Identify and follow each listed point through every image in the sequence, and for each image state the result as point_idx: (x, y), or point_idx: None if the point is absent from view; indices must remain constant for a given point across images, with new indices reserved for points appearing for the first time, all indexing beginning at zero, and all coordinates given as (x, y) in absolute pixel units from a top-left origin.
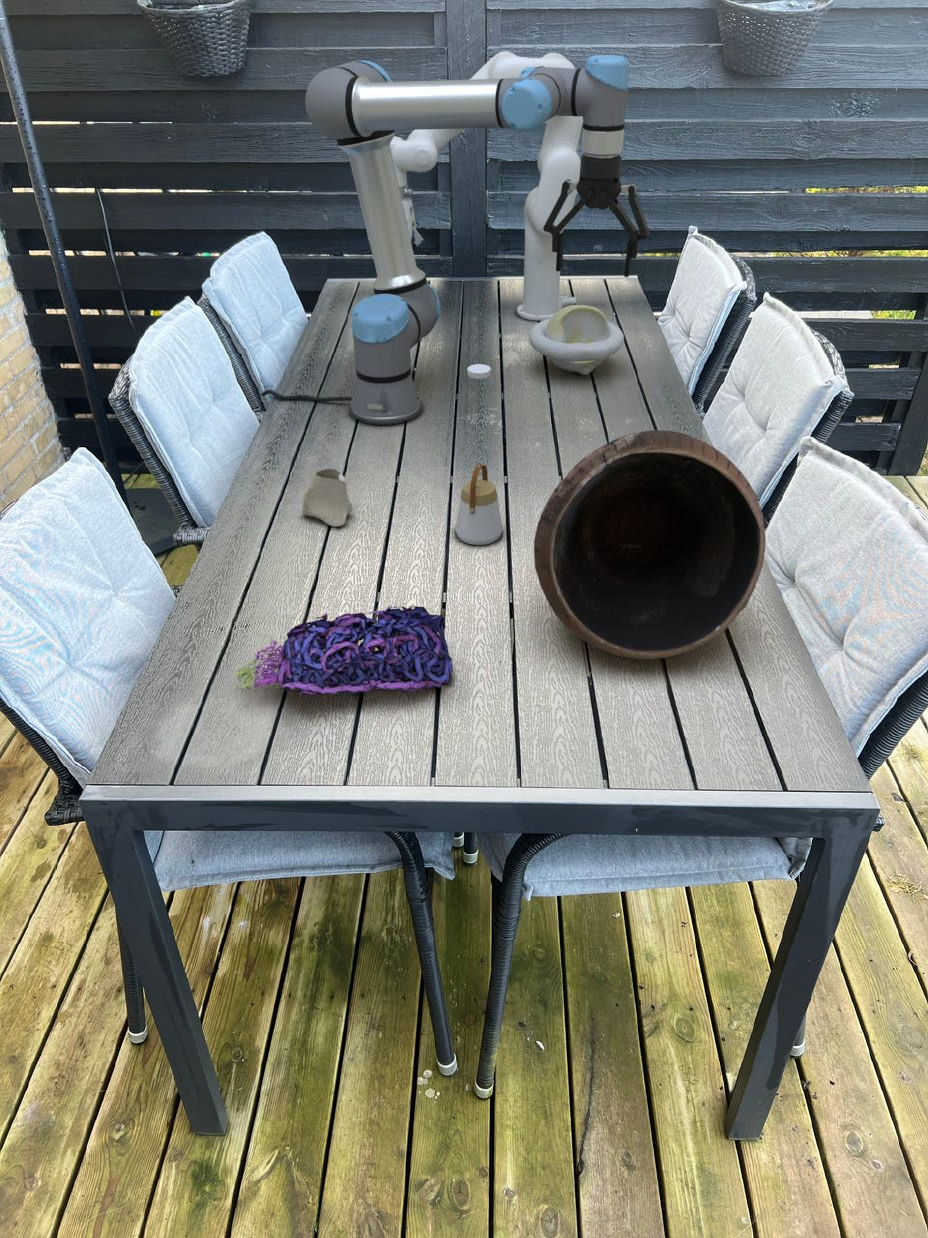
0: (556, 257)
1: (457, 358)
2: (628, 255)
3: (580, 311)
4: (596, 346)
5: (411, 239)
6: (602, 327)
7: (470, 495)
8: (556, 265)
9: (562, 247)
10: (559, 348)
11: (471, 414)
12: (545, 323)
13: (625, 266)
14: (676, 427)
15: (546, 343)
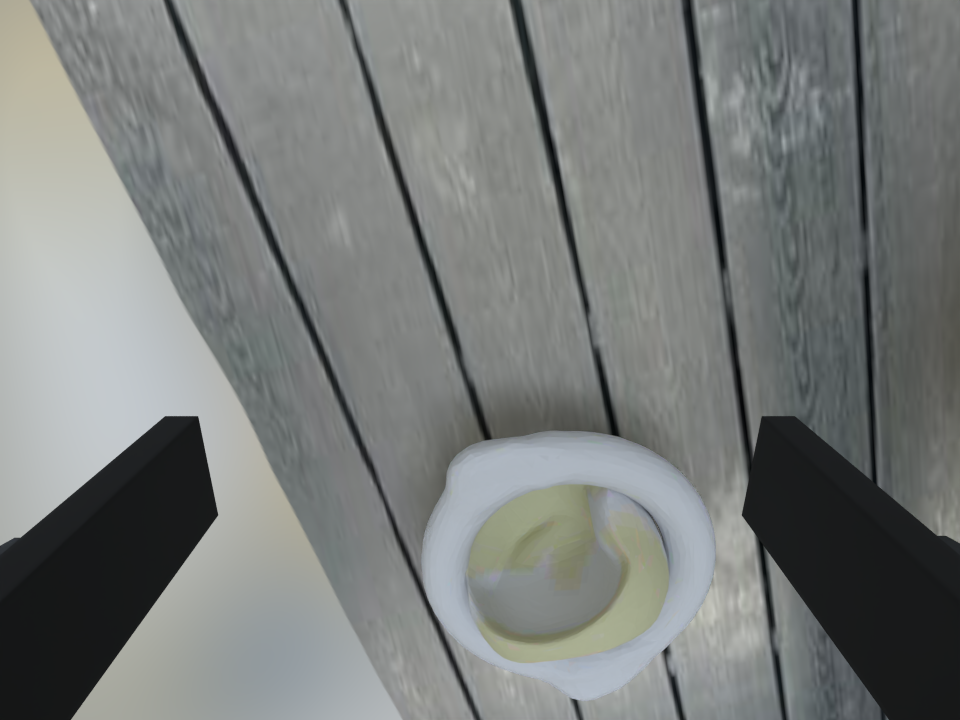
0: (869, 480)
1: None
2: (48, 530)
3: (571, 628)
4: (481, 469)
5: None
6: (492, 606)
7: None
8: (817, 439)
9: (859, 611)
10: (603, 449)
11: (809, 134)
12: (675, 606)
13: (144, 459)
14: (199, 223)
15: (651, 470)
